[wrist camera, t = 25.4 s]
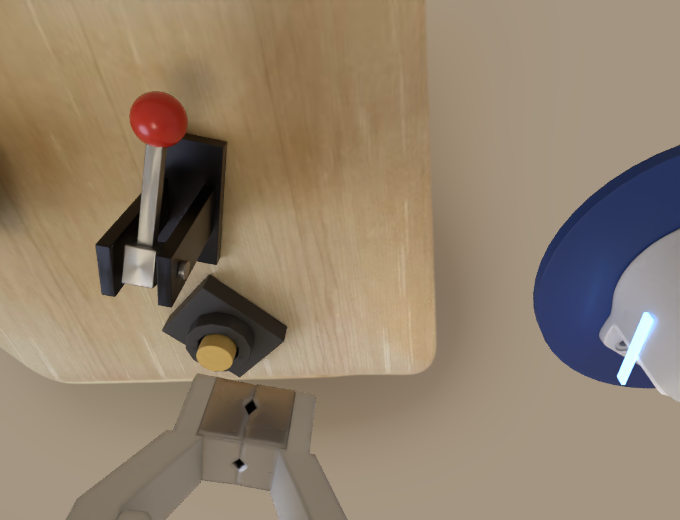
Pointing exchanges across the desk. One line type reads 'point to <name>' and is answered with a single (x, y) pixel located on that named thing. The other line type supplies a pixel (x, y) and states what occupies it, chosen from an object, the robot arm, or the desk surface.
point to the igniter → (225, 324)
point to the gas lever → (152, 179)
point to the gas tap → (174, 219)
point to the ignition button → (216, 352)
